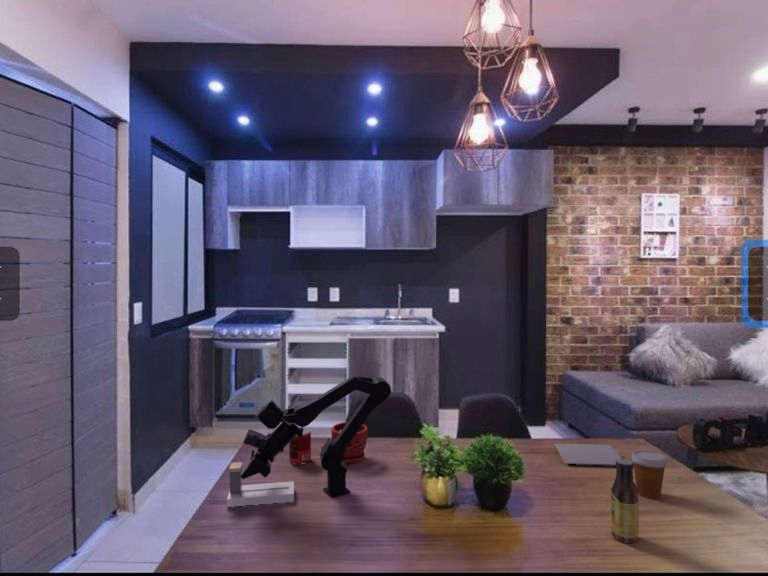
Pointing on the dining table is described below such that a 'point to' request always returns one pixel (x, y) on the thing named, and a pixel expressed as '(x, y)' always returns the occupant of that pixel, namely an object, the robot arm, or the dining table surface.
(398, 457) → the dining table surface
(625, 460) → the sauce bottle
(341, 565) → the dining table surface
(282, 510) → the dining table surface
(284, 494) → the dimmer panel
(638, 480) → the disposable coffee cup
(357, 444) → the plant pot
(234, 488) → the slider handle
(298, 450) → the canned food
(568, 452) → the book
